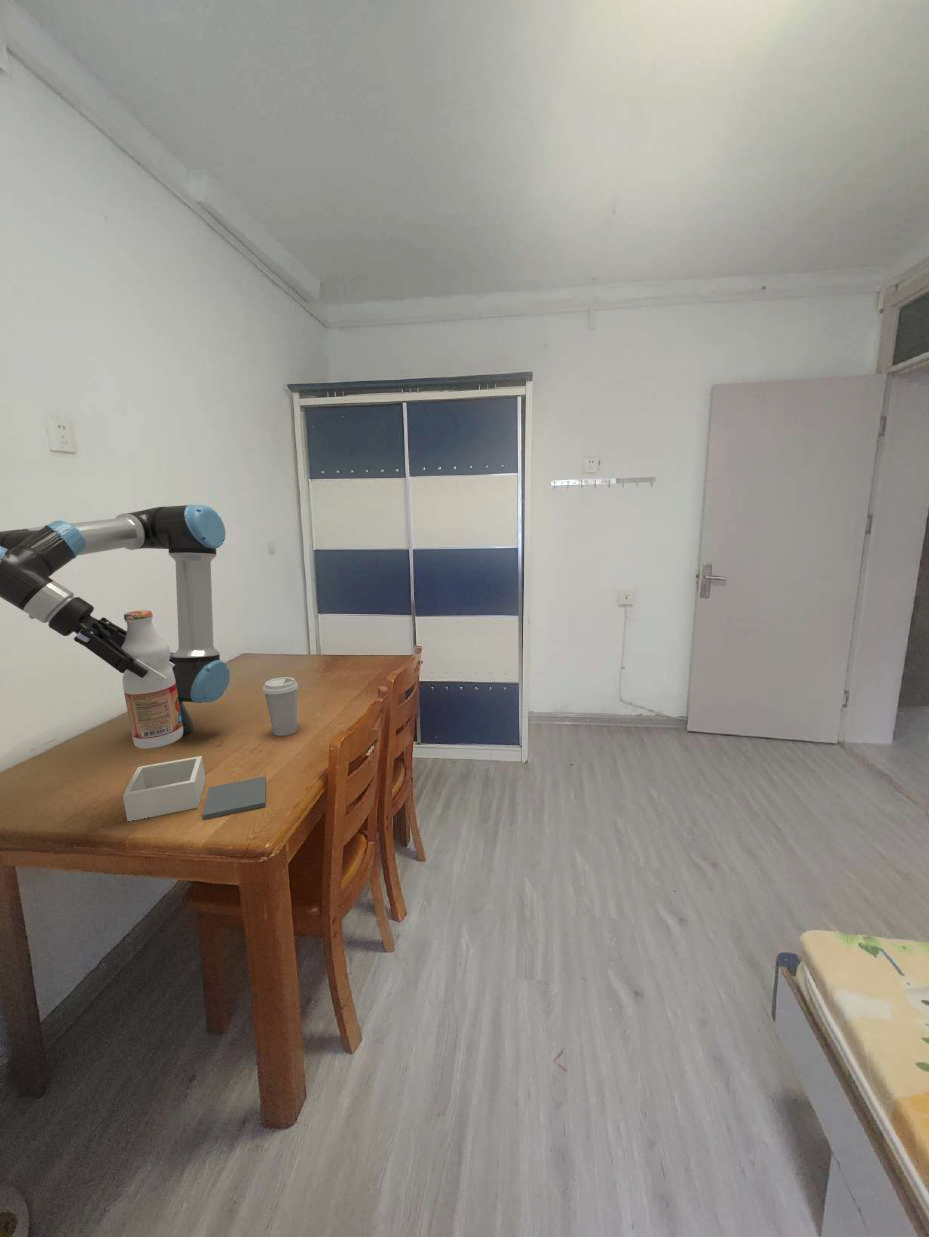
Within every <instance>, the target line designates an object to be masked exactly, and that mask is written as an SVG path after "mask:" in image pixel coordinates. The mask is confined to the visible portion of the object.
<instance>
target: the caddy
mask: <svg viewBox="0 0 929 1237" xmlns="http://www.w3.org/2000/svg"><path fill="white" fill-rule="evenodd" d="M205 781H206V772H205V766H204V760H203V756H202V755H200V756H194V757H193V756H192V757H189V758H182V759H175V760H170V761H163V762H159V763H154V764H147V765H141V766H137V768H136V770H135V772H134V774H133V776H132V778H131V779H130V781H129V783H128V785H127V786H126V789H125V791H124V792H123V794H122V797H123V798H122V799H123V804H124V810H125V815H126V820H127V822H128V821H130V822H133V821H132V820H135V821H139V820H144V818H145V819H148V817H149V818H152V817H153V818H155V817H158V816H163V815H169V814H173V813H179V812H182V811H183V812H184V811H187V810H188V811H189V810H194V809H198V808H199V806H200V803H201V802H200V801H201V798H202V794H203V791H204V787H205V784H206V782H205Z"/></svg>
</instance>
